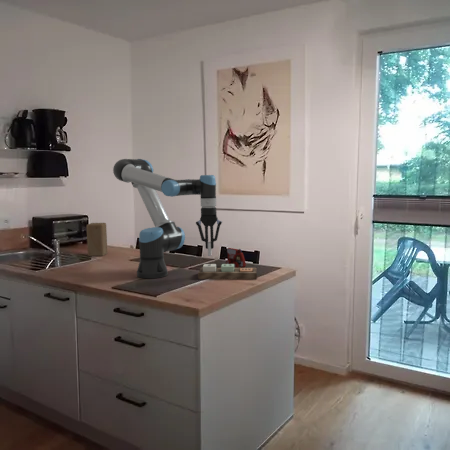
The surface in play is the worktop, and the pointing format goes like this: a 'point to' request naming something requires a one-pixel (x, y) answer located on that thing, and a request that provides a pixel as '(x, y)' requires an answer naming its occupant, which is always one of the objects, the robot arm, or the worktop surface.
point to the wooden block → (97, 239)
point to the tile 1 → (209, 268)
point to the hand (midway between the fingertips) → (209, 255)
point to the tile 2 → (227, 268)
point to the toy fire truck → (235, 258)
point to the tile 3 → (246, 269)
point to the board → (227, 274)
